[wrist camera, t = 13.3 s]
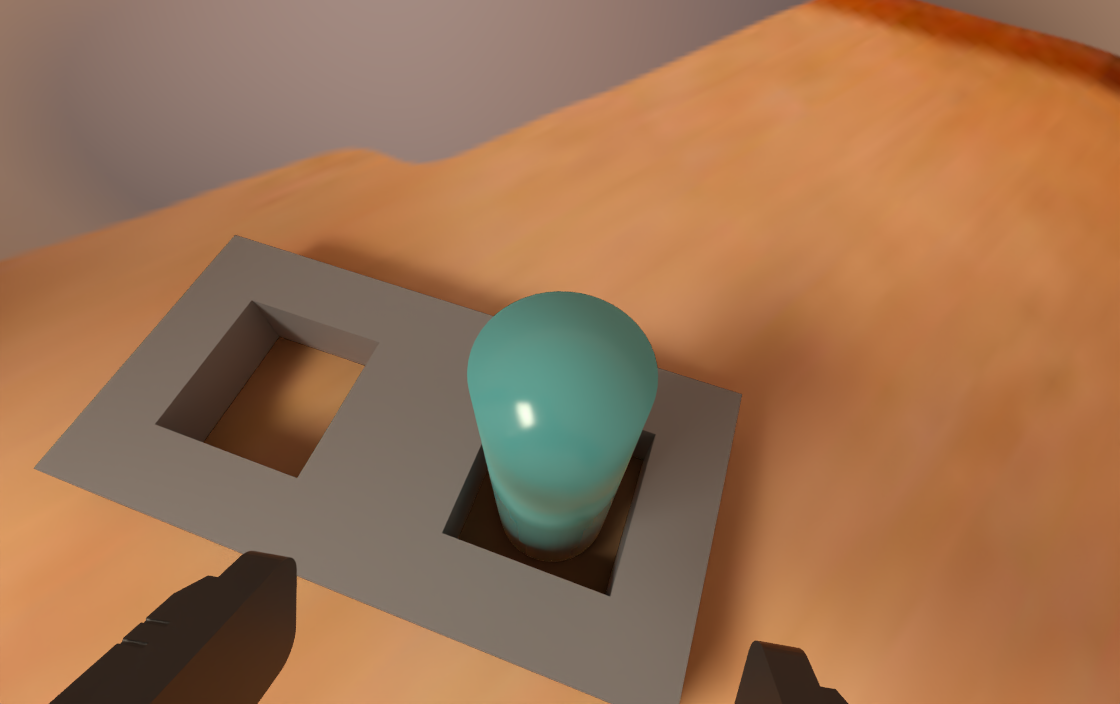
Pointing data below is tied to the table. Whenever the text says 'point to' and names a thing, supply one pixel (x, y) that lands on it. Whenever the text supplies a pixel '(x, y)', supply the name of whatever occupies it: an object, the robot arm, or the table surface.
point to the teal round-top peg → (559, 415)
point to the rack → (401, 473)
